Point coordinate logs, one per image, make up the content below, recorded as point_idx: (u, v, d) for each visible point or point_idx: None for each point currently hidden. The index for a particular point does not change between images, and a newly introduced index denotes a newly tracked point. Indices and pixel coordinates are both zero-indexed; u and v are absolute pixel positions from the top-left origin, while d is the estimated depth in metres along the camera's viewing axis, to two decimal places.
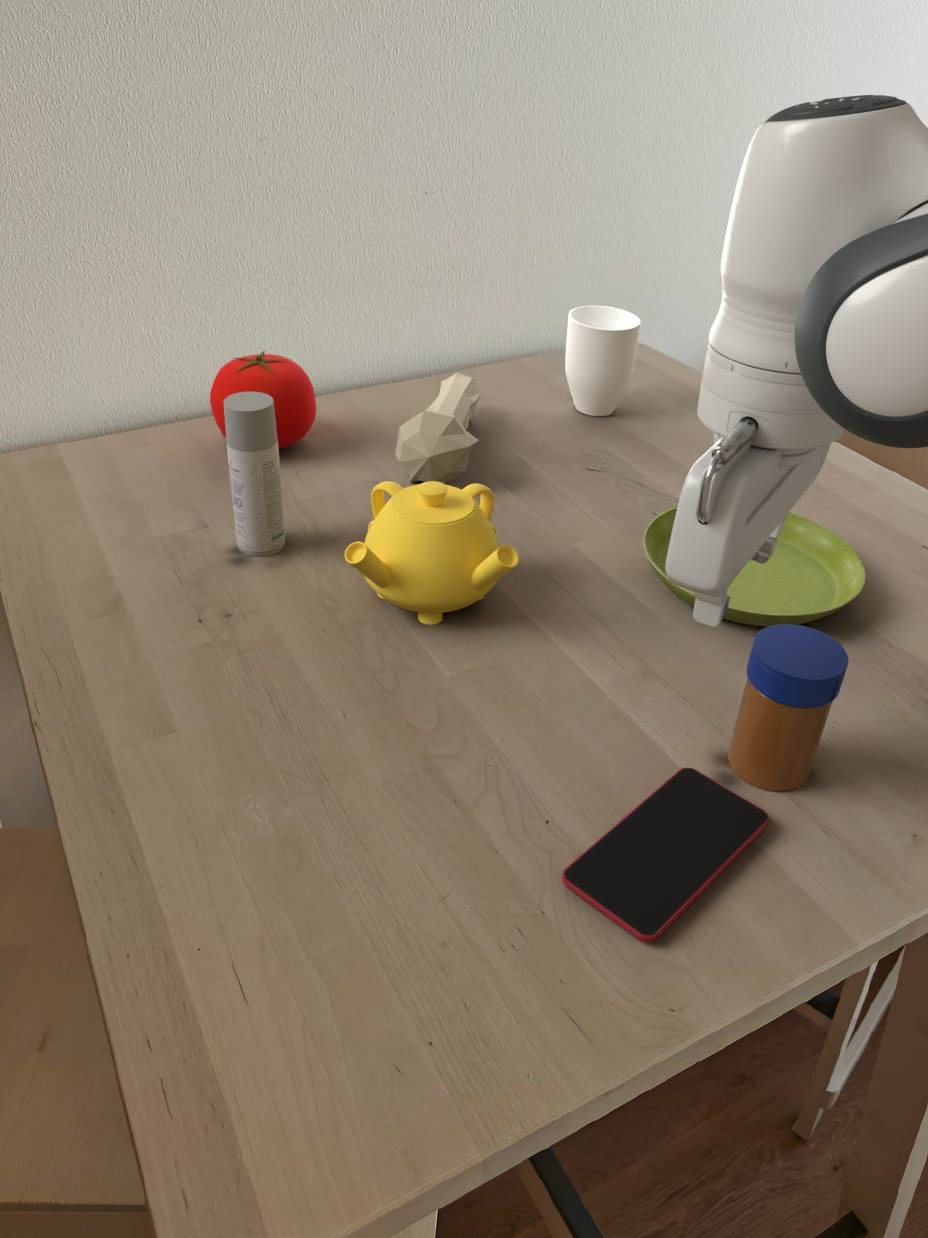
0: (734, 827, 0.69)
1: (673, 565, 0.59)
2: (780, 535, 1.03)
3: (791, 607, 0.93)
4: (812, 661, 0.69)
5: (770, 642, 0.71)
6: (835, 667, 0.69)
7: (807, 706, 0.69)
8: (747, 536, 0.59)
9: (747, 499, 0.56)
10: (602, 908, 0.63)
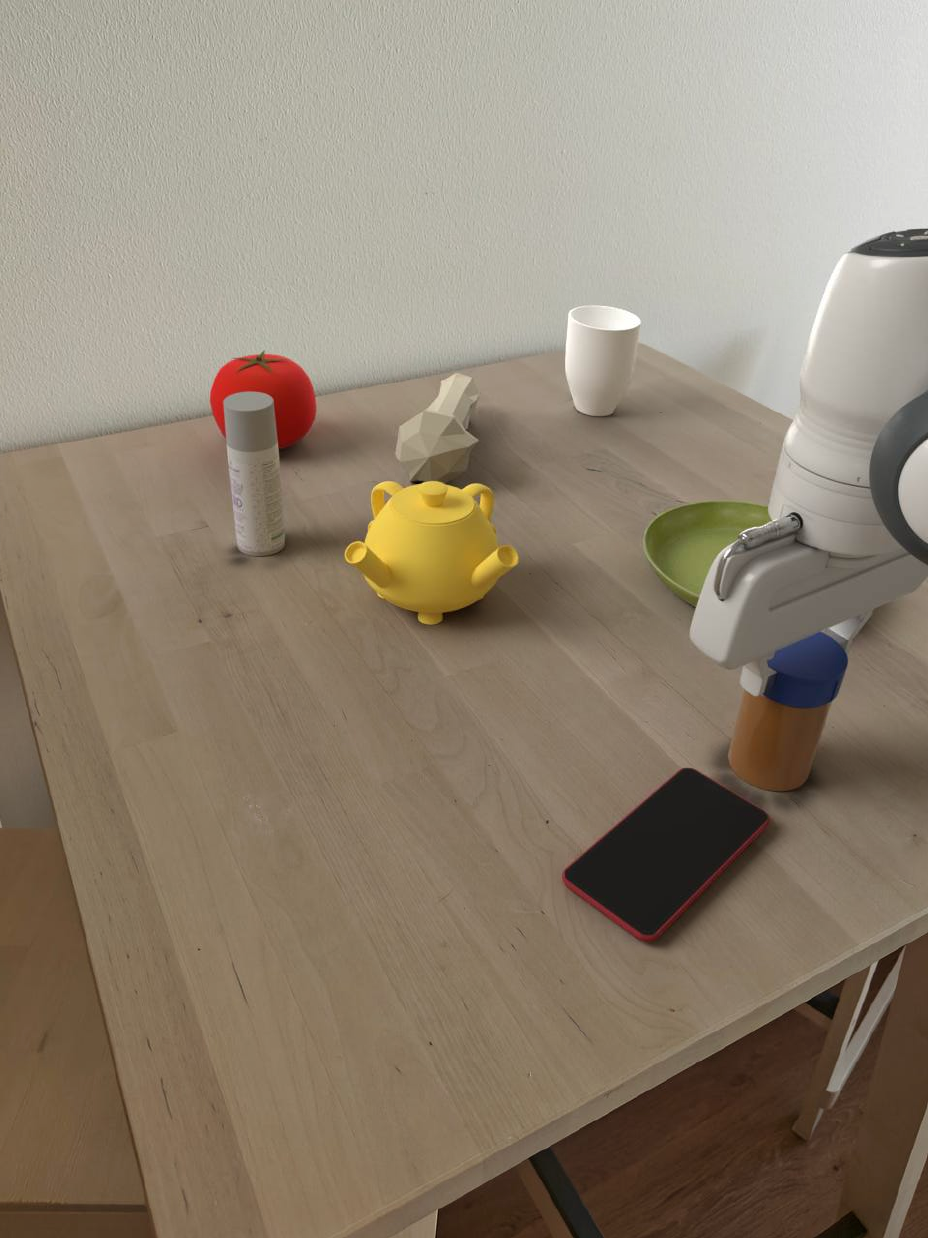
0: (734, 827, 0.69)
1: (694, 631, 0.64)
2: None
3: None
4: (812, 661, 0.69)
5: None
6: (835, 667, 0.69)
7: (807, 706, 0.69)
8: (773, 622, 0.63)
9: (764, 587, 0.60)
10: (602, 908, 0.63)
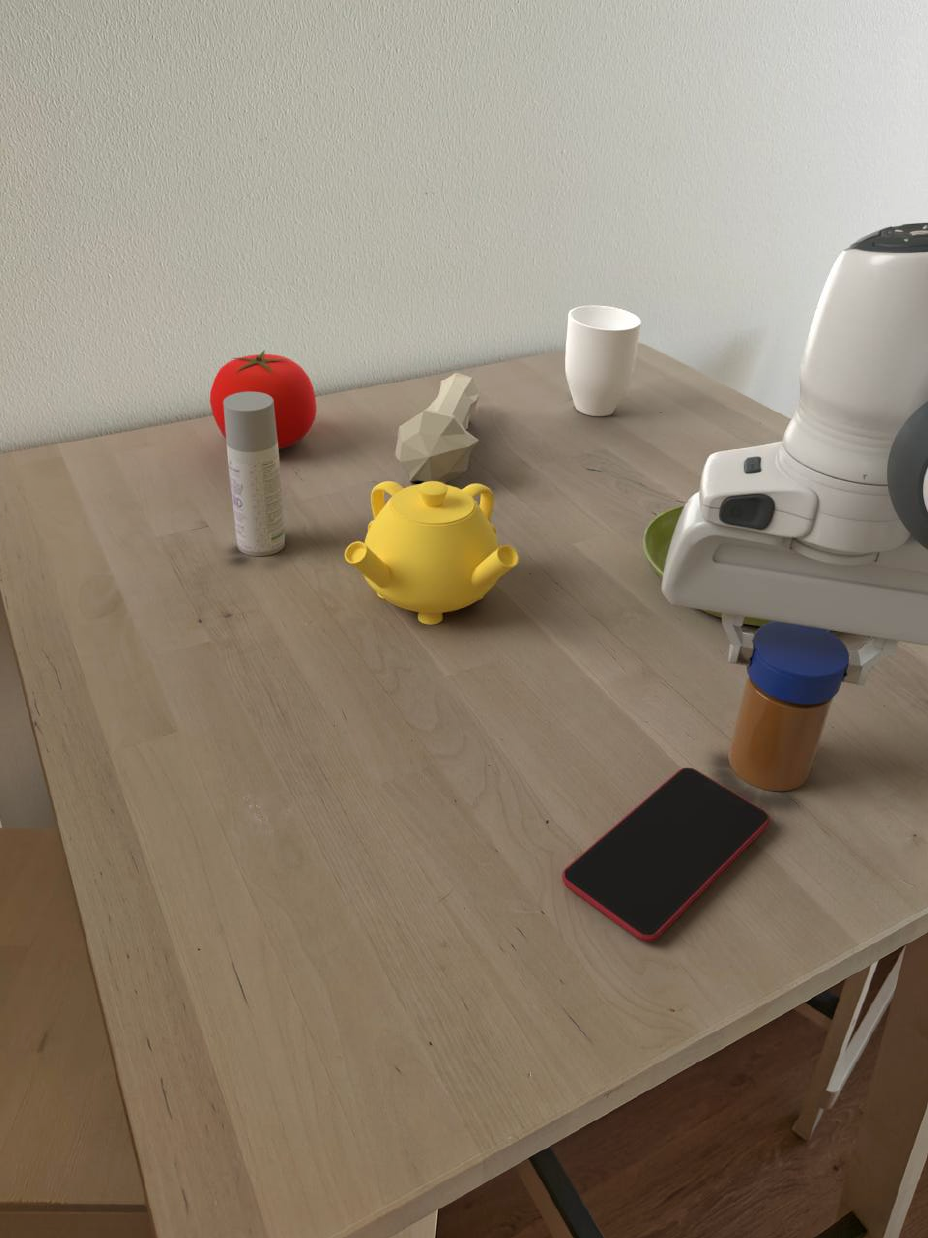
0: (734, 827, 0.69)
1: None
2: None
3: None
4: (804, 637, 0.71)
5: (818, 665, 0.68)
6: (790, 624, 0.72)
7: None
8: None
9: None
10: (602, 908, 0.63)
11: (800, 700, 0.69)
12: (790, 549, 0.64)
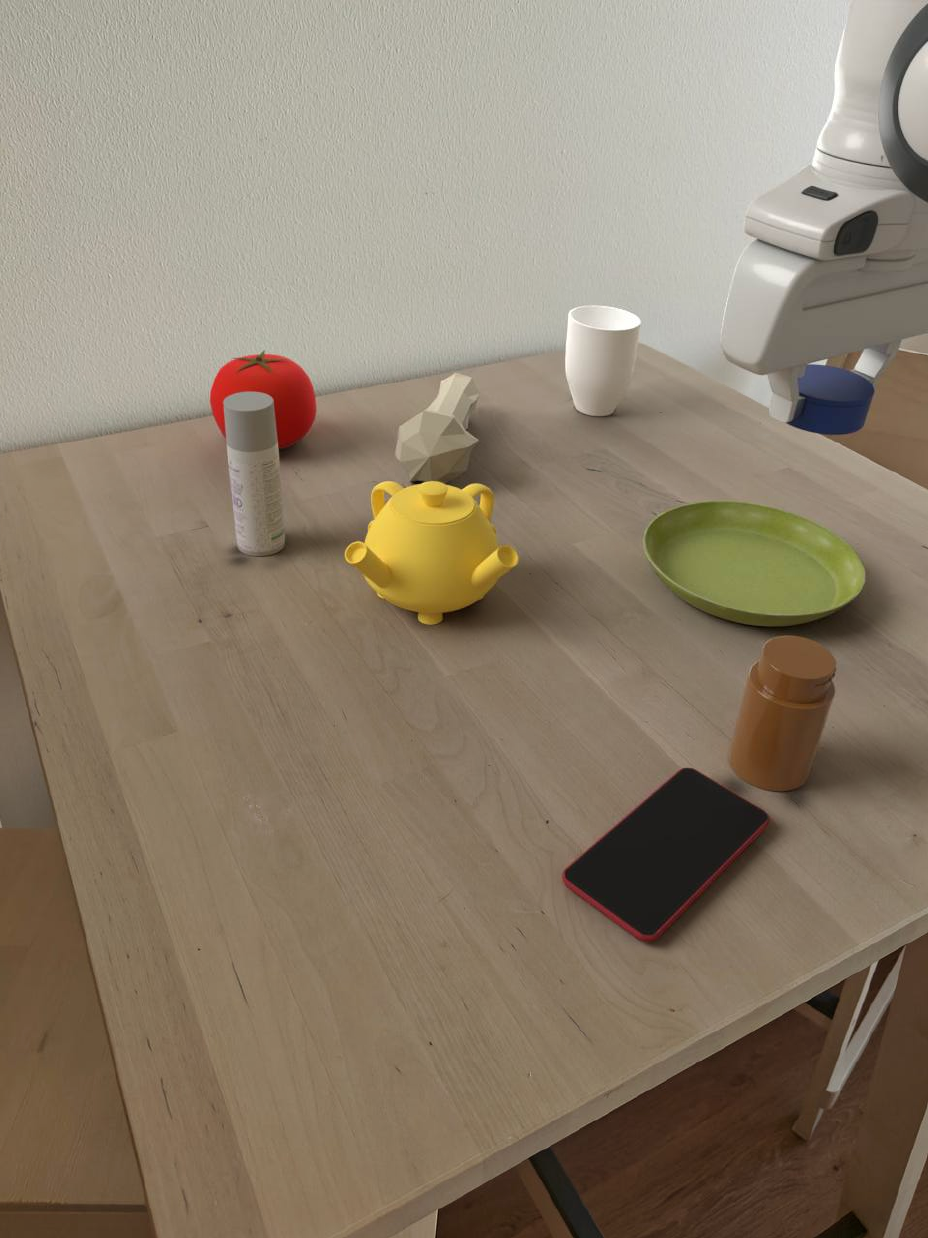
0: (734, 827, 0.69)
1: None
2: (780, 535, 1.03)
3: (791, 607, 0.93)
4: (815, 374, 0.72)
5: (857, 388, 0.70)
6: None
7: None
8: None
9: None
10: (602, 908, 0.63)
11: (858, 427, 0.70)
12: (857, 271, 0.63)
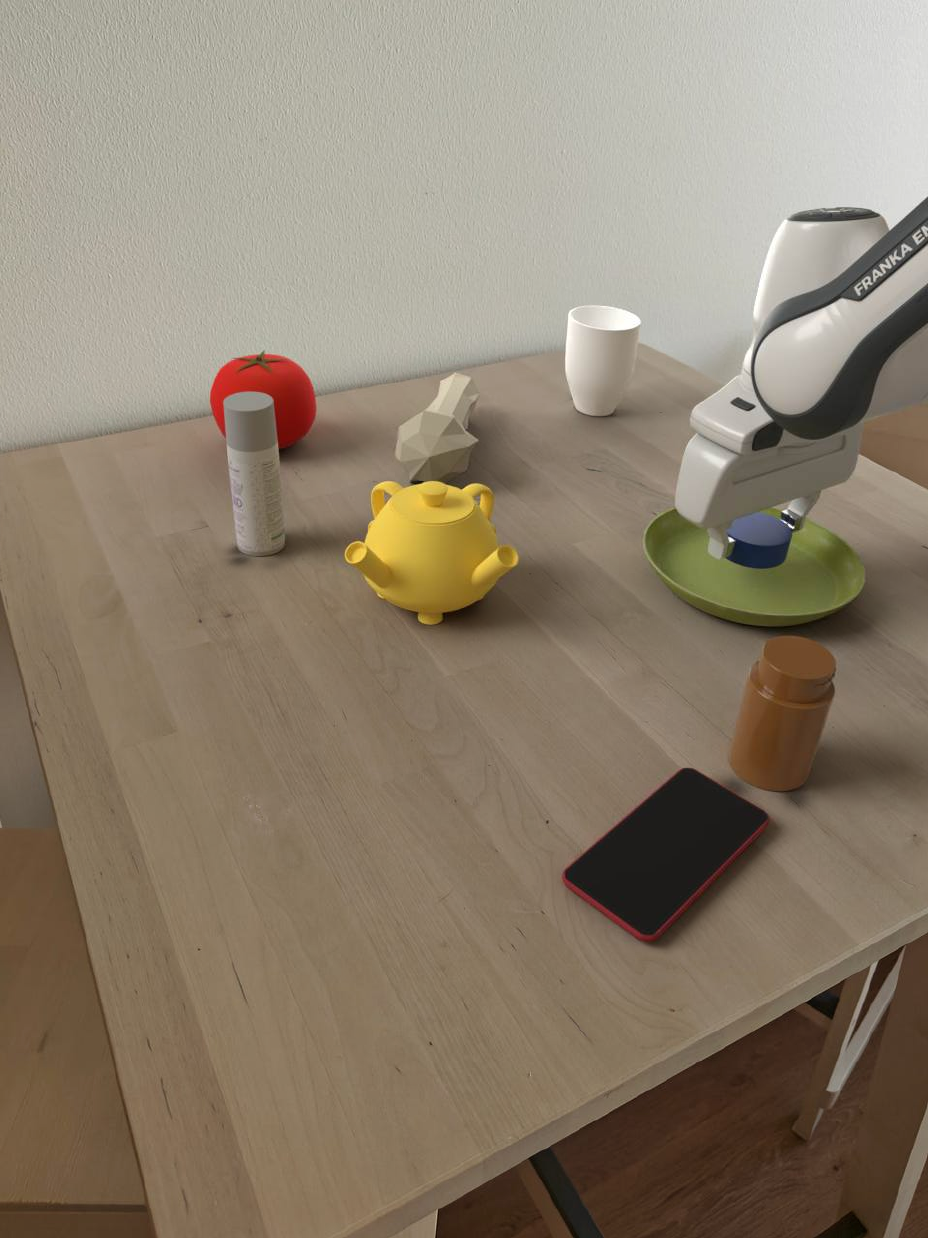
0: (734, 827, 0.69)
1: None
2: None
3: (791, 607, 0.93)
4: (748, 521, 0.95)
5: (779, 533, 0.94)
6: None
7: None
8: None
9: None
10: (602, 908, 0.63)
11: (780, 562, 0.94)
12: None
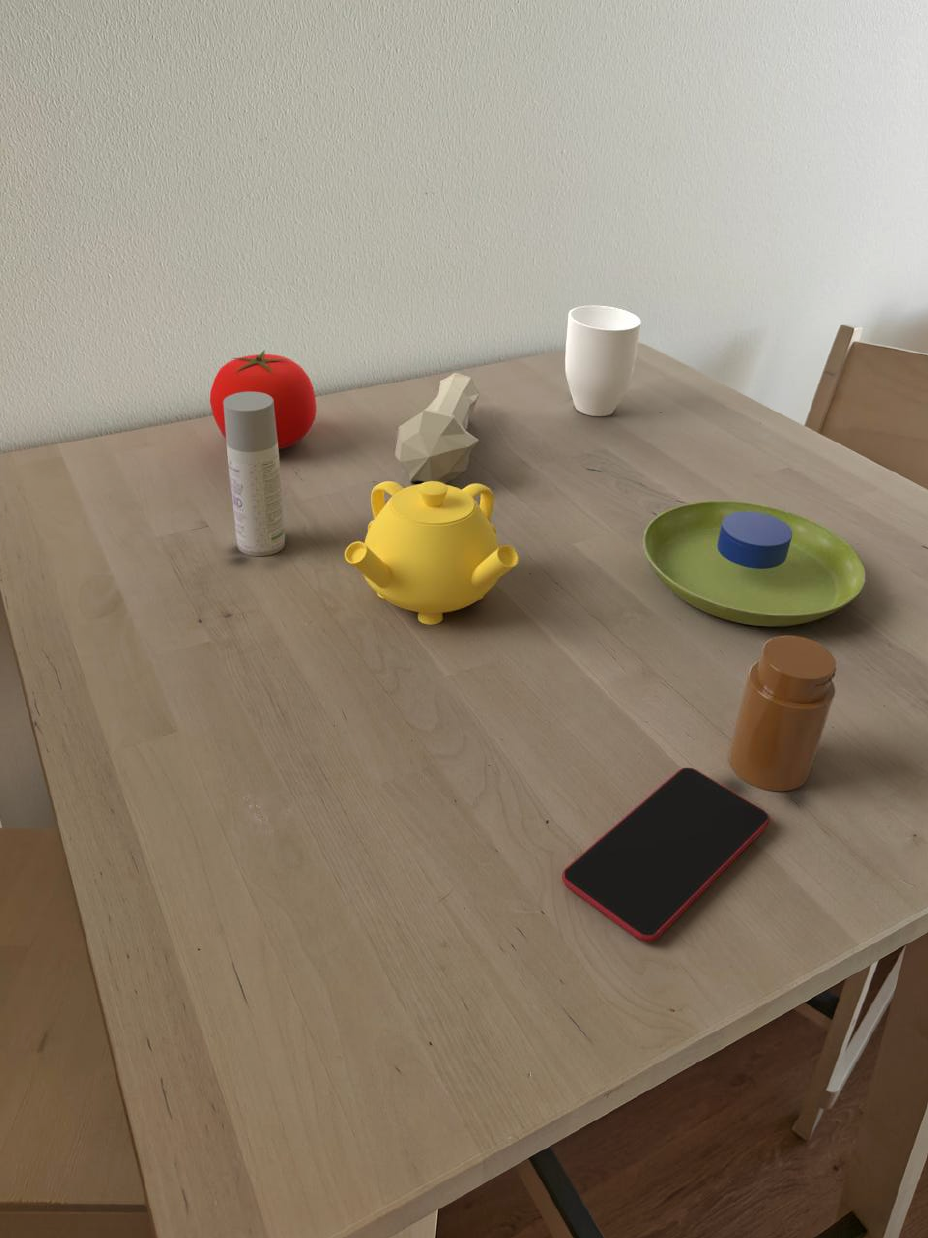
0: (734, 827, 0.69)
1: None
2: None
3: (791, 607, 0.93)
4: (748, 521, 0.95)
5: (779, 533, 0.94)
6: (732, 517, 0.96)
7: None
8: None
9: None
10: (602, 908, 0.63)
11: (780, 562, 0.94)
12: None
